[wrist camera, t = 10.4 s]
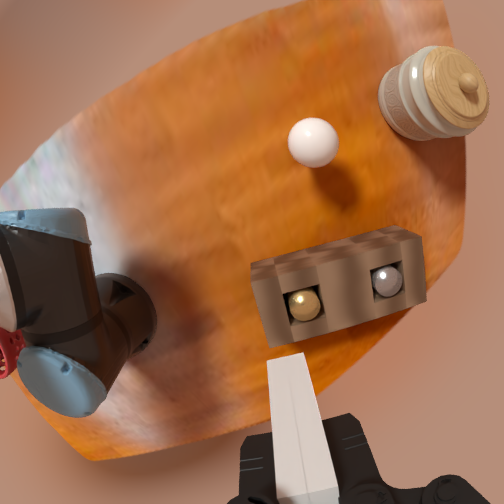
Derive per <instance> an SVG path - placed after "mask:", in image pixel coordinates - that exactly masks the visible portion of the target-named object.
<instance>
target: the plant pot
mask: <svg viewBox="0 0 504 504" xmlns="http://www.w3.org/2000/svg"><path fill="white" fill-rule="evenodd" d="M25 347H26V345H25V342H24V339H23V336H22V333H21V329H19V330H16V331H14V332H9V331H7V330H5V329H3V328H1V327H0V367H2V366H6V369H5V370H3V371H2V370H0V379H1V378H2V379H3V378H6V377H7V376H8V375H10V374H11V373H12V372H13V371H14V370H15V369H16V368H17V361H18V357H19V355H20V351H21V350H22V349H23V348H25ZM2 359H5V362H2V361H1V360H2Z"/></svg>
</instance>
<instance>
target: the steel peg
mask: <svg viewBox="0 0 504 504" xmlns="http://www.w3.org/2000/svg"><path fill="white" fill-rule="evenodd" d="M370 276H371V283H372V288H374V289H376V290H377V291H378V292H379V293H380V294H381V295H382V296H386V297H388V296H392V295H394V294H396V293H397V292H398V291H399V289H400V287H401V285H402V276H401V274H400V272H399V271H398V270H396V269H395V268H394V267H392V265H391V264H388V265H384V266H381V267H377V268H374V269H371V270H370Z"/></svg>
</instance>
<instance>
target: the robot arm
mask: <svg viewBox="0 0 504 504" xmlns="http://www.w3.org/2000/svg"><path fill="white" fill-rule="evenodd" d="M90 245H92V244H91V241H90V240H89V236H88V230H87V225H86V219H85V216H84V215H83V213H82V212H81V211H79V210H78V209H75V208H48V209H31V210H19V211H5V212H0V327H1V328H3V329H5V330H7V331H9V332H14V331H16V330H19V329H21V333H22V336H23V339H24V342H25V345H26V347H25V348H23V349H22V350H21V351H20V355H19V357H18V361H17V369H18V373H19V376H20V378H21V380H22V382H23V383H24V385H25V386H26V388H27V389H28V390H29V392H30V393H31V394H32V395H33V396H34V397H35V398H36V399H37V400H38V401H40V402H41V403H42V404H44V405H45V406H47V407H48V408H50V409H51V410H53V411H55V412H57V413H59V414H62V415H65V416H69V417H75V418H81V417H86V416H89V415H91V414H92V413H94V412H95V411H96V409H97V408H98V407H99V405H100V404H101V403H102V402H103V401H104V400H105V399H106V397H107V394H108V392H109V390H110V388H111V387H112V385H113V383H114V381H115V379H116V378H117V376H118V374H119V372H120V371H121V369H122V367H123V366H124V364H125V362H126V360H128V359H130V358H131V357H133V356H135V355H137V354H139V353H140V352H142V351H143V350H144V349H145V348H146V347H147V346H148V344H149V343H150V341H151V339H152V338H153V336H154V333H155V330H156V325H157V318H156V312H155V308H154V306H153V303H152V301H151V299H150V298H149V296H148V295H147V293H146V292H145V291H144V290H143V289H142V288H141V287H140V286H139V285H138V284H137V283H136V282H134V281H133V280H131V279H129V278H127V277H125V276H123V275H119V274H115V273H104V274H100V275H97V276H95V272H94V266H93V261H92V254H91V248H90ZM267 369H268V382H269V395H270V408H271V421H272V432H270V433H264V434H258V435H252V436H247V437H246V439H245V441H244V442H243V444H242V446H241V449H240V479H239V495H238V496H237V497H235V498H233V499H231V500H230V501H229V502H228V503H227V504H490V503H489V502H488V501H487V500H486V499H485V498H484V497H483V496H482V495H481V494H480V493H479V492H478V491H476V490H475V489H474V488H473V487H472V486H471V485H470V484H469V483H468V482H467V481H466V480H465V479H463V478H461V477H460V476H457V475H444V476H440V477H438V478H436V479H434V480H432V481H431V482H430V483H429V484H428V485H427V486H426V487H421V488H412V489H398V488H393V487H391V486H389V485H387V484H386V483H385V482H384V481H383V480H382V478H381V476H380V474H379V471H378V468H377V466H376V463H375V460H374V458H373V455H372V452H371V450H370V448H369V445H368V443H367V439H366V437H365V435H364V432H363V429H362V427H361V424H360V422H359V420H357V419H356V418H355V417H354V416H353V415H351V414H350V413H347V414H344V415H340V416H337V417H333V418H329V419H326V420H321V416H320V413H319V409H318V405H317V401H316V397H315V394H314V390H313V386H312V382H311V379H310V375H309V371H308V367H307V364H306V360H305V356H304V353H298V354H294V355H290V356H286V357H282V358H277V359H273V360H268V361H267Z"/></svg>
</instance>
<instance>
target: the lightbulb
mask: <svg viewBox="0 0 504 504" xmlns="http://www.w3.org/2000/svg"><path fill="white" fill-rule="evenodd" d="M288 148H289V151H290V153H291V155H292V156H293V158H294V159H295V160H296V161H297V162H298V163H300V164H302V165H304V166H306V167H311V168H318V167H322V166H325V165H327V164H328V163H330V162H331V161H332V160H333V159H334V157H335V156H336V154H337V152H338V148H339V139H338V135H337V133H336V131H335V129H334V128H333V127H332V126H331V125H330V124H329V123H328V122H326V121H325V120H322V119H319V118H306V119H303V120H301V121H299V122H298V123H296V124H295V125H294V126H293V128H292V129H291V131H290V133H289V136H288Z"/></svg>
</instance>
